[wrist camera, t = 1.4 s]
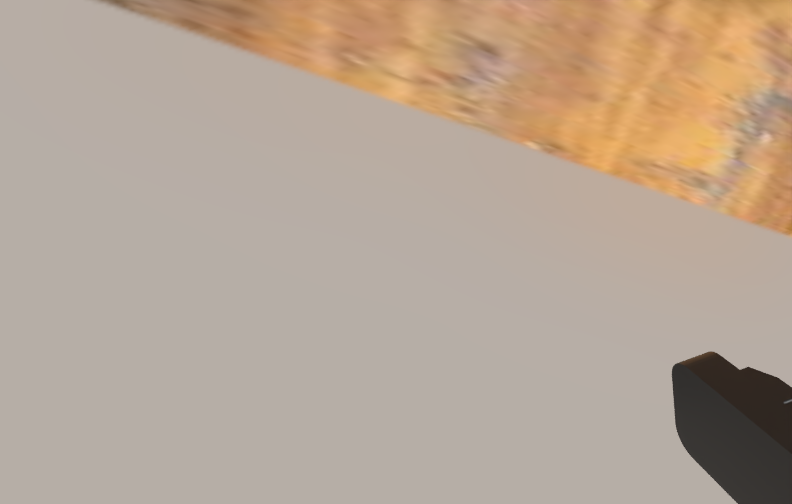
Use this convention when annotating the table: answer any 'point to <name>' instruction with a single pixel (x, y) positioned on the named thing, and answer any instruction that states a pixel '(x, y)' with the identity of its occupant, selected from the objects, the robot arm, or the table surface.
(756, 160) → the table surface
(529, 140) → the table surface
